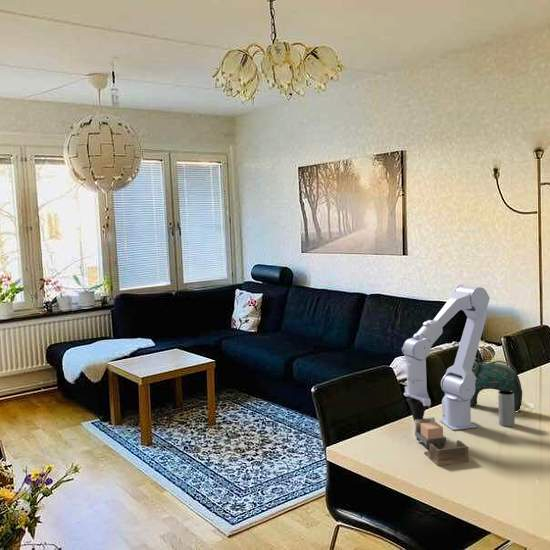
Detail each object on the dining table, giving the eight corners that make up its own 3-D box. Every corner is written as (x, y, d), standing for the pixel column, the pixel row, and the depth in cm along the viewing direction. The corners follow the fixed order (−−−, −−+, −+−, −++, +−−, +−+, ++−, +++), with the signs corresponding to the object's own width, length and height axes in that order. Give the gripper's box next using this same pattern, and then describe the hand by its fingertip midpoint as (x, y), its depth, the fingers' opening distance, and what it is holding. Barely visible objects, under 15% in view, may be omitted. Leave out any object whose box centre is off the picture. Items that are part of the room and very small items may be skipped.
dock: (424, 453, 164) (423, 439, 164) (454, 449, 166) (453, 435, 165) (437, 465, 156) (437, 450, 155) (468, 461, 157) (468, 446, 157)
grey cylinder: (514, 422, 184) (514, 390, 183) (514, 427, 180) (513, 394, 179) (499, 421, 186) (498, 389, 185) (498, 426, 182) (497, 393, 181)
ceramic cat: (459, 406, 202) (457, 349, 200) (464, 401, 208) (463, 345, 206) (520, 414, 191) (519, 354, 189) (524, 408, 196) (523, 350, 195)
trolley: (415, 439, 174) (414, 419, 173) (434, 437, 175) (433, 417, 174) (426, 449, 166) (426, 428, 165) (446, 447, 167) (445, 426, 166)
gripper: (395, 373, 183) (396, 415, 185) (413, 385, 169) (415, 431, 170) (416, 371, 185) (417, 413, 186) (436, 383, 170) (438, 428, 172)
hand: (418, 421), depth 178 cm, fingers closed
